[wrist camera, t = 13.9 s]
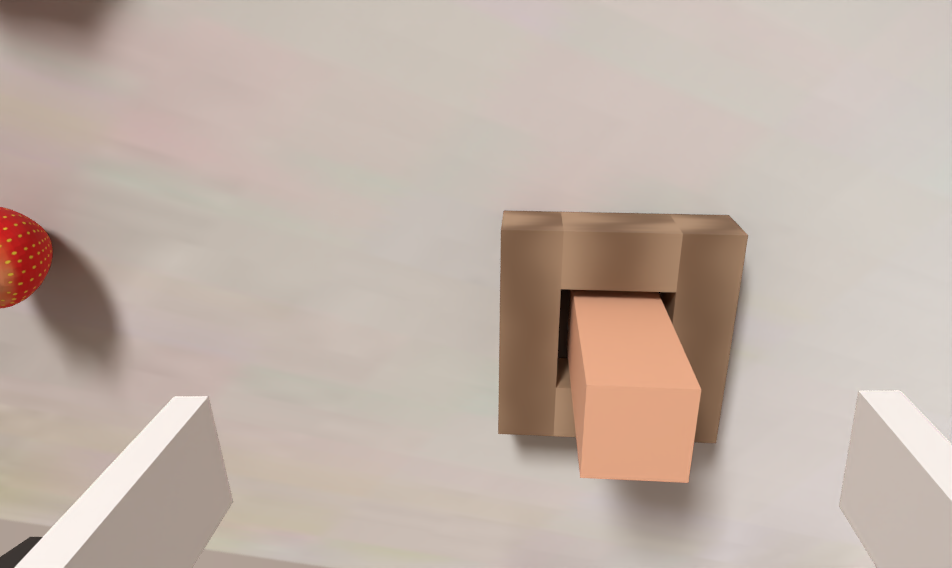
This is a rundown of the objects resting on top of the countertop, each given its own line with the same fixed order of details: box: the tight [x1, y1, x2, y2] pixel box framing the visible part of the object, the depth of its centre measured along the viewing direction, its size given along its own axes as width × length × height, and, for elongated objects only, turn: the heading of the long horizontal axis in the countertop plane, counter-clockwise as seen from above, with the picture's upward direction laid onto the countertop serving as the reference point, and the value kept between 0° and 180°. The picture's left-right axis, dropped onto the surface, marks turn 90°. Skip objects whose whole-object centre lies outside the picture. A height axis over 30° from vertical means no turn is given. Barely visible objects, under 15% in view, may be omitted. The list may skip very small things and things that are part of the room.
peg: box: [567, 289, 701, 483], centre depth 34 cm, size 4×4×12 cm
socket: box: [498, 211, 748, 443], centre depth 37 cm, size 12×12×4 cm
